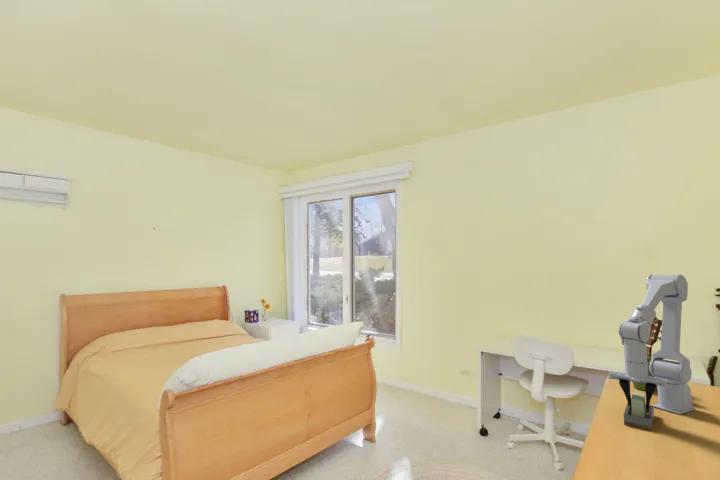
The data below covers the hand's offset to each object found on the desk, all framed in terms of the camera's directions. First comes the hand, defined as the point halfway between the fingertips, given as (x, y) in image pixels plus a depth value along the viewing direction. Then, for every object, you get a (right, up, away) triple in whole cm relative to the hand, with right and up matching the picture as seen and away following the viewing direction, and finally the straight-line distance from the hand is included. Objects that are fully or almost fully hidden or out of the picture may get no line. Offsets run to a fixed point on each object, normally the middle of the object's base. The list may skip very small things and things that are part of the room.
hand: (638, 406), depth 118 cm
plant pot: (+24, -6, +30) cm, 38 cm away
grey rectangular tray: (0, -4, 0) cm, 4 cm away
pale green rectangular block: (0, -3, 0) cm, 3 cm away
